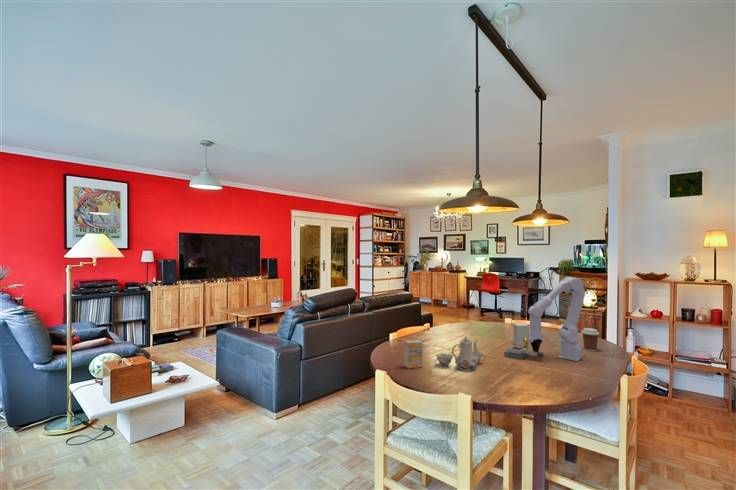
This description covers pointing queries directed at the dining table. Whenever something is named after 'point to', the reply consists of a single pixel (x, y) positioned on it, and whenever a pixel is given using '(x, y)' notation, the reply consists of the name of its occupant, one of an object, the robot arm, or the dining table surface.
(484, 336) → the dining table surface
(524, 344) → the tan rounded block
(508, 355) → the block
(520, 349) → the collar
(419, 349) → the supplement box
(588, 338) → the coffee cup
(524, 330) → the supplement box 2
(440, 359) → the chinaware
